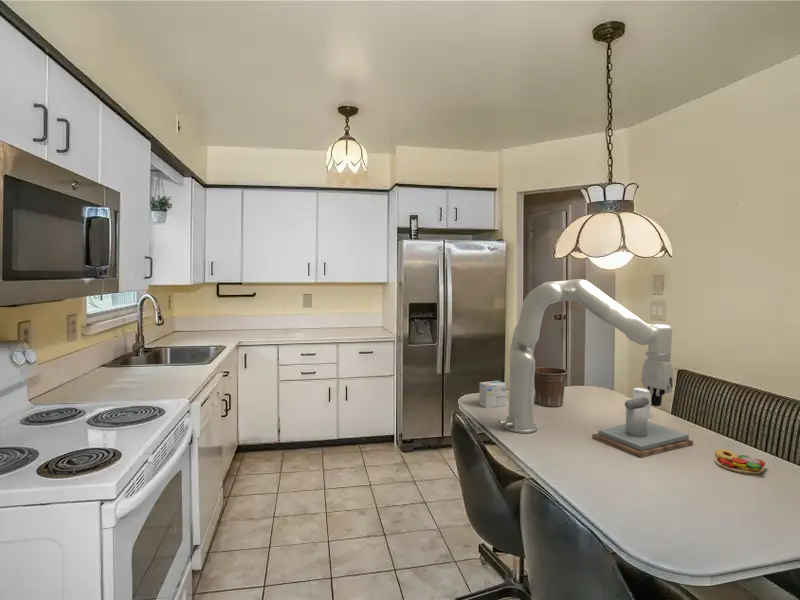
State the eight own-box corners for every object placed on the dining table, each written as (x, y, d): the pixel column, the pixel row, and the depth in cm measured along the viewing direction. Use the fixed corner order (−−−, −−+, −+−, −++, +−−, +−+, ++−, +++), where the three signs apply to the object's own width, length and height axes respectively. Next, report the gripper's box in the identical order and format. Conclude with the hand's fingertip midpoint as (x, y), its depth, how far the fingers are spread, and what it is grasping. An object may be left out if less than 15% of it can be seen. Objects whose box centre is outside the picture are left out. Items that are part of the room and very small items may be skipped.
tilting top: (641, 451, 155) (642, 409, 154) (598, 434, 172) (598, 396, 171) (688, 438, 166) (689, 399, 165) (643, 423, 182) (644, 388, 181)
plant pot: (524, 403, 218) (524, 369, 217) (543, 397, 229) (543, 365, 228) (555, 411, 206) (555, 375, 205) (573, 404, 217) (574, 370, 216)
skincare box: (631, 415, 199) (631, 388, 199) (637, 414, 202) (638, 387, 201) (644, 419, 194) (645, 391, 193) (650, 418, 196) (651, 390, 196)
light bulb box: (498, 402, 220) (498, 380, 219) (506, 406, 213) (506, 383, 213) (478, 404, 216) (478, 381, 215) (486, 408, 210) (486, 385, 209)
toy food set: (714, 455, 156) (714, 446, 156) (763, 465, 149) (764, 455, 149) (714, 469, 146) (714, 459, 145) (767, 480, 138) (767, 469, 138)
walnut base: (639, 457, 154) (640, 453, 154) (592, 438, 172) (592, 434, 172) (692, 444, 166) (693, 440, 166) (642, 427, 184) (643, 424, 184)
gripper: (634, 354, 176) (631, 401, 177) (671, 361, 163) (668, 412, 164) (647, 353, 180) (644, 399, 181) (685, 360, 166) (682, 410, 167)
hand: (656, 405), depth 172 cm, fingers closed
